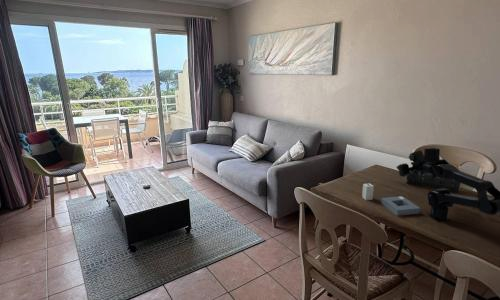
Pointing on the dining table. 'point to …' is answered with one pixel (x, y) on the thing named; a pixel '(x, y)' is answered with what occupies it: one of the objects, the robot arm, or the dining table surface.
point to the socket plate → (405, 209)
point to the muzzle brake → (436, 183)
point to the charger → (368, 191)
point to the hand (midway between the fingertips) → (404, 165)
